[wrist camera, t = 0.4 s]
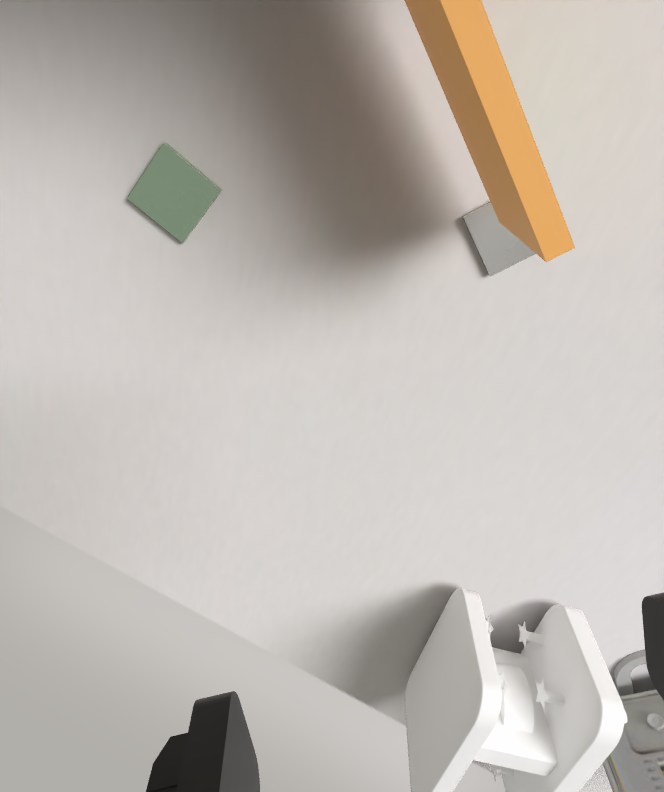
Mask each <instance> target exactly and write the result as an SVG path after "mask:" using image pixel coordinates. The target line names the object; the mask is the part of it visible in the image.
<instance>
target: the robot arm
mask: <svg viewBox="0 0 664 792" xmlns="http://www.w3.org/2000/svg"><path fill="white" fill-rule="evenodd" d="M642 614H643V627H644V640H645V652H646V663H647V668H648V672H649V675H650V677H651V680H652V682H653V684H654V686H655V688H656V690H657V691H658V693H659V695H660V696H661V697H662V699H663V700H664V593H660V594H655V595H651V596H647V597H645V598H644V599H643V601H642ZM258 771H259V770H258V763H257V758H256V754H255V750H254V747H253V744H252V740H251V737H250V734H249V730H248V727H247V724H246V720H245V717H244V714H243V710H242V707H241V704H240V700H239V698H238V695H237V693H236V692H234V691H233V692H228V693H224V694H220V695H216V696H211V697H207V698H202V699H199V700H196V701H195V703H194V706H193V711H192V716H191V721H190V726H189V731H188V733H185V734H181V735H176V736H172V737H170V738H169V740H168V742H167V743H166V745H165V746H164V748H163V749H162V751H161V752H160V754H159V756H158V757H157V759H156V760H155V762H154V763H153V766H152V771H151V775H150V778H149V782H148V786H147V790H146V792H260V783H259V782H260V781H259V772H258Z"/></svg>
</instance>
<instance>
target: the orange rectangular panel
mask: <svg viewBox="0 0 664 792" xmlns="http://www.w3.org/2000/svg"><path fill="white" fill-rule="evenodd" d="M405 2H406V5H407V7H408V9H409V12H410V14H411V16H412V19H413V21H414V23H415V26H416V28H417V30H418V33H419V35H420V37H421V40H422V42H423V45H424V47H425V49H426V52H427V54H428V56H429V59H430V61H431V63H432V66H433V68H434V70H435V73H436V75H437V77H438V80H439V82H440V84H441V87H442V89H443V91H444V94H445V96H446V98H447V101H448V103H449V105H450V108H451V110H452V112H453V115H454V117H455V120H456V122H457V124H458V127H459V129H460V131H461V134H462V136H463V138H464V141H465V143H466V145H467V148H468V150H469V152H470V155H471V157H472V159H473V162H474V164H475V166H476V169H477V171H478V173H479V176H480V178H481V180H482V183H483V185H484V187H485V190H486V192H487V195H488V197H489V199H490V202H491V204H492V206H493V209H494V211H495V213H496V216H497V218H498V220H499V222H500V223H501V224H502V225H503V226H504V227H506V228H507V229H508V230H509V231H510V232H511V233H513V234H514V235H515V236H516V237H517V238H519V239H520V240H521V241H522V242H523V243H524V244H526V245H527V246H528V247H529V248H530V249H531V250H533V251H534V252H535V253H536V254H537V255H539V256H540V257H541V258H542V259H543V260H544V261H546V262H547V261H549V260H551V259H553V258H555V257H557V256H559V255H561V254H563V253H565V252H567V251H569V250H571V249H573V248H575V246H574V244H573V241H572V238H571V236H570V233H569V230H568V228H567V225H566V222H565V220H564V217H563V215H562V212H561V209H560V207H559V204H558V201H557V199H556V196H555V193H554V191H553V188H552V186H551V183H550V180H549V178H548V175H547V172H546V170H545V167H544V165H543V162H542V159H541V157H540V154H539V151H538V149H537V146H536V143H535V141H534V138H533V136H532V133H531V130H530V128H529V125H528V122H527V120H526V117H525V114H524V112H523V109H522V107H521V104H520V101H519V99H518V96H517V93H516V91H515V88H514V85H513V83H512V80H511V78H510V75H509V72H508V70H507V67H506V64H505V62H504V59H503V56H502V54H501V51H500V49H499V46H498V43H497V41H496V38H495V35H494V33H493V30H492V28H491V25H490V22H489V20H488V17H487V14H486V12H485V9H484V6H483V4H482V1H481V0H405Z"/></svg>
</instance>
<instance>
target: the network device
mask: <svg viewBox="0 0 664 792" xmlns="http://www.w3.org/2000/svg"><path fill="white" fill-rule="evenodd" d="M642 664H647V663H646V652H645V650H641V651H637V652H634V653H632V654H630V655H628V656H627V657H625V658H624V659H622V660H621V661H620V662H619V663H618V665H617V666H616V668H615V671H614V679H615V683H616V687H617V691H618V694H619V696H620V698H621V701H622V703H623V707H624V710H625V712H626V715H627V723H626V724H625V723H624V728H623V732H622V735H621V738H620V740H619V742H618V744H617V746H616V747H615V748H614V750H613V751H612V752H611V753H610V754H609V756H608V757H607V758H606V759H605V760H604V762H603V766H604V768H605V771H606V774H607V777H608V779H609V782H610V785H611V788H612V790H613V792H664V700H663V699H662V697H661V696H660V695H659V693H658V691H657V690H651V691H645V692H640V693H634V689H633V685H632V681H631V677H630V674H631V671H632V670H633V669H634V668H635V667H637V666H639V665H642Z"/></svg>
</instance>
